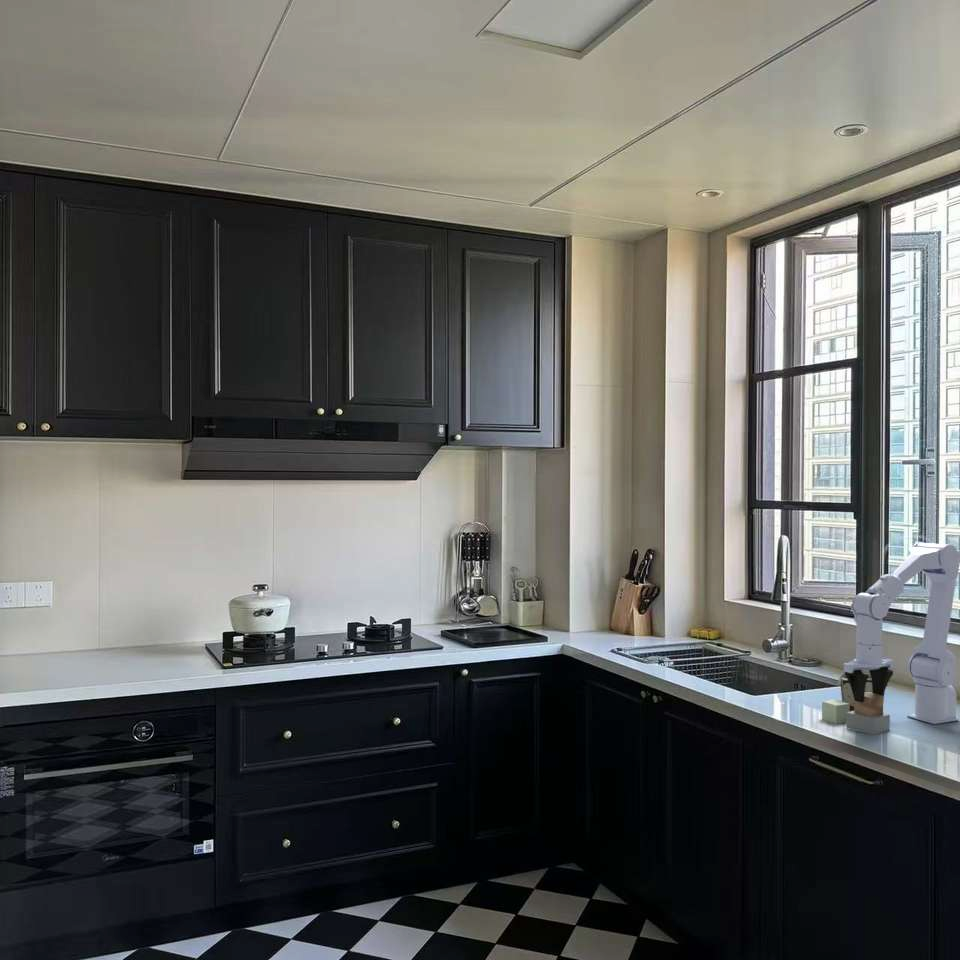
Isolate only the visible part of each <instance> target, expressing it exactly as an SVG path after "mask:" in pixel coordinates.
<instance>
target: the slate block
mask: <svg viewBox="0 0 960 960" xmlns="http://www.w3.org/2000/svg"><path fill="white" fill-rule="evenodd" d="M890 726H891V714H890V713H885V712H883V715H878V716H871V717H869V716H865V715H862V714H859V713H856V712H854V711H851V712H847V722H846V729H848V728H850V730H852V729H854V731H857V730H858V732H861V731H862V732H861V733H866V734H869V735H874V736H875V735H878V734H882V733H884V732H887V731H888V732H889V731H890V730H891V727H890Z"/></svg>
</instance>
